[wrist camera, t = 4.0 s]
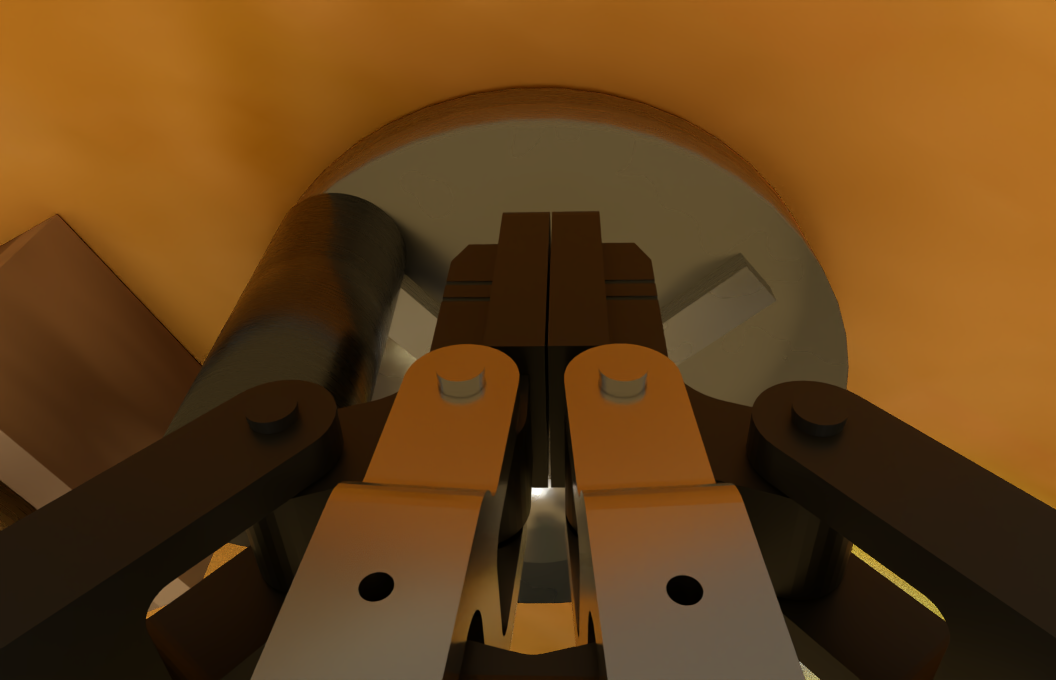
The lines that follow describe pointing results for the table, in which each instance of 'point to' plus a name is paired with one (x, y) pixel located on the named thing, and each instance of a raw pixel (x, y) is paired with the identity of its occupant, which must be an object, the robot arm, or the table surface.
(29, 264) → the block
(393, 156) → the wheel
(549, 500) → the axle cap
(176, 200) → the table surface
